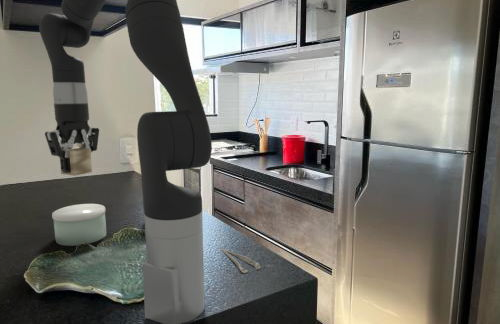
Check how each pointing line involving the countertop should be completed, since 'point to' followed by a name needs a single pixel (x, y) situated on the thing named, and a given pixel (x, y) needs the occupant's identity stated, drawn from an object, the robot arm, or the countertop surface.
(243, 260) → the tweezers
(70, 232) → the round lidded container
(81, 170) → the beech block
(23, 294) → the countertop surface
